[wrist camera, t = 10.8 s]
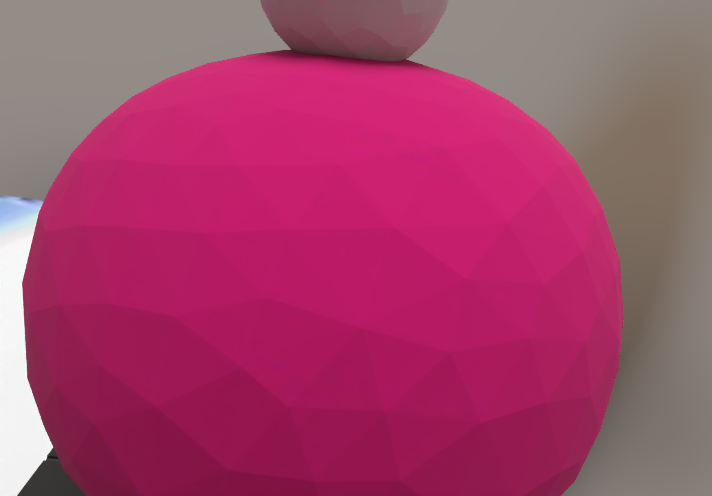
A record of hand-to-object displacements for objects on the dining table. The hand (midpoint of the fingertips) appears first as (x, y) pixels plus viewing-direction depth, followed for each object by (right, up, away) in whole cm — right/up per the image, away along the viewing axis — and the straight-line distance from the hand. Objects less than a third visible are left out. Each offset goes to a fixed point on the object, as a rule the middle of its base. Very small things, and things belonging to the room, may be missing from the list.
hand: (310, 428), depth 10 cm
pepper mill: (-1, -12, +2) cm, 12 cm away
